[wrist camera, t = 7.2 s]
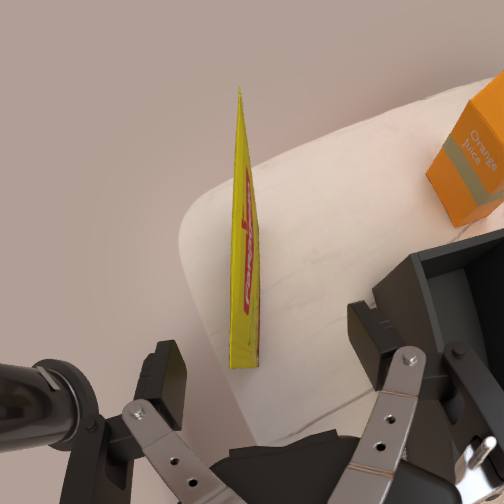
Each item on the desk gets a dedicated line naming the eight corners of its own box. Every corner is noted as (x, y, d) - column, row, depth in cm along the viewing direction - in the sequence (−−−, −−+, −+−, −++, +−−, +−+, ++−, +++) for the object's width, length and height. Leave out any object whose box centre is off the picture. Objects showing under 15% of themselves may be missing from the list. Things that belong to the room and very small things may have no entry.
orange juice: (454, 229, 33) (544, 131, 15) (424, 173, 36) (486, 62, 18) (489, 215, 34) (570, 130, 15) (460, 165, 37) (521, 69, 18)
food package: (263, 367, 30) (243, 369, 11) (252, 367, 30) (213, 368, 11) (262, 227, 35) (247, 85, 16) (252, 228, 35) (229, 87, 17)
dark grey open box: (408, 468, 24) (454, 498, 14) (371, 288, 32) (409, 254, 22) (497, 420, 24) (552, 425, 14) (463, 261, 32) (511, 225, 22)
